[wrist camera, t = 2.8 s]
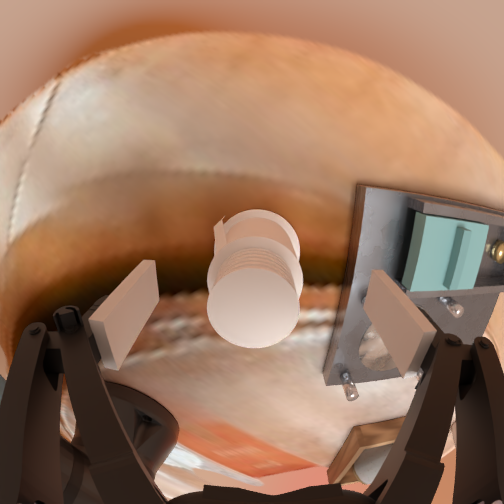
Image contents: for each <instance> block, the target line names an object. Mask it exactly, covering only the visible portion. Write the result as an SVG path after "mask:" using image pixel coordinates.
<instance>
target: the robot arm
mask: <svg viewBox="0 0 504 504" xmlns="http://www.w3.org/2000/svg"><path fill="white" fill-rule="evenodd" d="M158 302H159V292H158V284H157V275H156V266H155V260H143V261H142V262H141V263H140V264H139V265H138V266H137V267H136V268H135V269H134V270H133V271H132V272H131V273H130V274H129V275H128V276H127V277H126V278H125V279H124V280H123V281H122V283H121V284H120V285H119V286H118V287H117V288H116V289H115V290H114V291H113V292H112V293H111V294H110V295H105V296H103V297H101V298H100V299H98V300H97V301H96V302H95V303H94V304H93V306H92V307H91V308H90V309H89V310H88V311H87V312H86V313H85V314H84V315H83V316H82V317H81V314H80V310H79V308H78V307H76V306H71V305H69V306H64V307H61V308H59V309H58V310H56V311H55V312H54V314H53V318H54V321H55V324H56V327H57V330H58V331H57V332H48V331H47V328H46V326H45V324H44V323H41V322H36V323H31V324H29V325H28V326H27V327H26V328H25V329H24V331H23V333H22V336H21V338H20V341H19V344H18V346H17V349H16V352H15V355H14V358H13V361H12V364H11V367H10V370H9V373H8V377H7V380H5V379H4V378H3V377H2V376H1V375H0V504H431V502H432V500H433V497H434V495H435V493H436V490H437V488H438V485H439V482H440V480H441V477H442V474H443V471H444V463H440V460H441V456H442V453H443V450H444V447H445V444H446V440H447V436H448V433H449V429H450V425H451V421H452V416H453V412H454V407H455V412H456V472H455V484H454V493H453V503H452V504H504V373H503V370H502V367H501V364H500V361H499V359H498V356H497V353H496V350H495V348H494V345H493V344H492V342H491V341H490V340H489V339H488V338H486V337H479V336H478V337H476V338H475V339H474V341H473V343H472V345H468V344H463V342H462V340H461V339H460V338H459V337H457V336H456V335H454V334H450V333H444V332H443V331H442V330H441V329H440V327H439V326H438V325H437V324H436V323H435V322H433V319H432V318H431V317H430V316H429V315H428V314H427V312H426V311H425V310H423V309H421V308H420V307H418V306H415V304H414V303H413V302H412V301H411V300H410V299H409V298H408V297H407V295H406V294H405V293H404V292H403V291H402V290H401V289H400V288H399V287H398V286H397V284H396V283H395V282H394V281H393V280H392V279H391V278H390V277H389V276H388V275H387V274H386V273H385V272H384V271H383V270H372V273H371V277H370V282H369V286H368V291H367V295H366V299H365V303H364V307H363V309H364V310H365V312H366V314H367V315H368V317H369V319H370V321H371V322H372V324H373V326H374V327H375V329H376V331H377V332H378V334H379V336H380V338H381V339H382V341H383V343H384V345H385V347H386V348H387V350H388V352H389V354H390V355H391V357H392V359H393V361H394V363H395V365H396V366H397V368H398V370H399V372H400V374H401V376H402V378H403V379H404V378H410V377H416V375H417V373H418V371H419V369H420V367H421V369H422V370H423V374H422V376H421V378H420V380H419V382H418V384H417V385H416V387H415V389H417V390H416V392H415V395H414V398H413V400H412V403H411V405H410V408H409V410H408V413H407V415H406V418H405V420H404V422H403V424H402V427H401V429H400V431H399V433H398V435H397V437H396V440H395V442H394V444H393V446H392V448H391V450H390V452H389V453H388V455H387V457H386V459H385V461H384V463H383V465H382V466H381V468H380V470H379V472H378V473H377V475H376V477H375V478H374V480H373V482H372V483H371V485H370V486H369V487H368V489H367V490H366V491H365V492H364V493H363V494H361V493H359V492H355V491H350V490H343V489H342V488H341V483H335V484H328V485H319V486H310V487H306V488H303V489H299V490H296V491H292V492H288V493H284V494H280V495H266V494H262V493H258V492H253V491H249V490H245V489H241V488H233V487H221V486H211V485H204V488H203V491H199V492H193V493H188V494H184V495H181V496H178V497H176V498H173V499H171V500H169V501H167V499H166V498H165V496H164V495H163V494H162V492H161V491H160V489H159V488H158V486H157V485H156V484H155V482H154V479H155V475H156V472H157V471H158V469H159V468H160V466H161V465H162V464H163V462H164V461H165V460H166V458H167V457H168V456H169V454H170V453H171V451H172V450H173V449H174V447H175V445H176V443H177V438H178V434H179V427H178V424H177V422H176V420H175V419H174V417H173V416H172V415H171V414H170V413H169V412H168V411H167V410H166V409H165V408H164V407H162V406H161V405H160V404H158V403H157V402H155V401H154V400H152V399H151V398H149V397H147V396H145V395H143V394H141V393H139V392H137V391H135V390H133V389H130V388H128V387H125V386H122V385H118V384H114V383H109V382H104V380H103V377H102V375H101V372H100V369H99V367H98V362H99V361H100V359H101V360H102V362H103V365H104V368H108V369H112V370H117V371H119V369H120V367H121V365H122V363H123V362H124V360H125V358H126V356H127V354H128V353H129V351H130V349H131V347H132V346H133V344H134V342H135V341H136V339H137V337H138V335H139V334H140V332H141V330H142V329H143V327H144V325H145V324H146V322H147V320H148V319H149V317H150V315H151V314H152V312H153V310H154V309H155V307H156V305H157V304H158ZM63 374H65V377H66V382H67V387H68V391H69V395H70V400H71V404H72V407H73V411H74V415H75V418H76V427H75V435H74V437H73V439H72V441H71V443H70V442H68V441H67V440H66V439H65V438H63V437H62V436H61V435H60V407H61V393H62V383H63Z"/></svg>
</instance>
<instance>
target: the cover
mask: <svg viewBox="0 0 504 504" xmlns="http://www.w3.org/2000/svg"><path fill="white" fill-rule="evenodd" d="M488 229H489V225H487V224H484V223H482V222H477V221H472V220H466V219H460V218H454V217H447V216H440V215H434V214H426V213H422V212H416V215H415V222H414V228H413V233H412V239H411V244H410V249H409V254H408V258H407V263H406V267H405V271H404V276H403V280H402V284H403V285H404V286H405V287H406V288H407V289H408V290H409V291H410V292H413V291H440V290H461V289H473V287H474V284H475V281H476V277H477V274H478V270H479V267H480V263H481V259H482V255H483V251H484V247H485V243H486V238H487V234H488Z"/></svg>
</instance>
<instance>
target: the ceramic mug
mask: <svg viewBox="0 0 504 504" xmlns="http://www.w3.org/2000/svg"><path fill="white" fill-rule="evenodd" d="M393 444H394V443H390V444H386V445H382V446H378V447H373V448H369V449H364V450H363V452H362V453H361V454H360V456H359V457H358V458H357V460H356V461H355V462H354V464H353V465H352V468H353V472H354V475H355V477H356V478H357V479H358V481H360V482H361V483H362V484H371V483H372V482H373V480H374V478H375V477H376V475H377V473H378V472H379V470H380V468H381V466H382V465H383V463H384V461H385V459H386V457H387V455H388V453H389V452H390V450H391V448H392V446H393Z"/></svg>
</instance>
